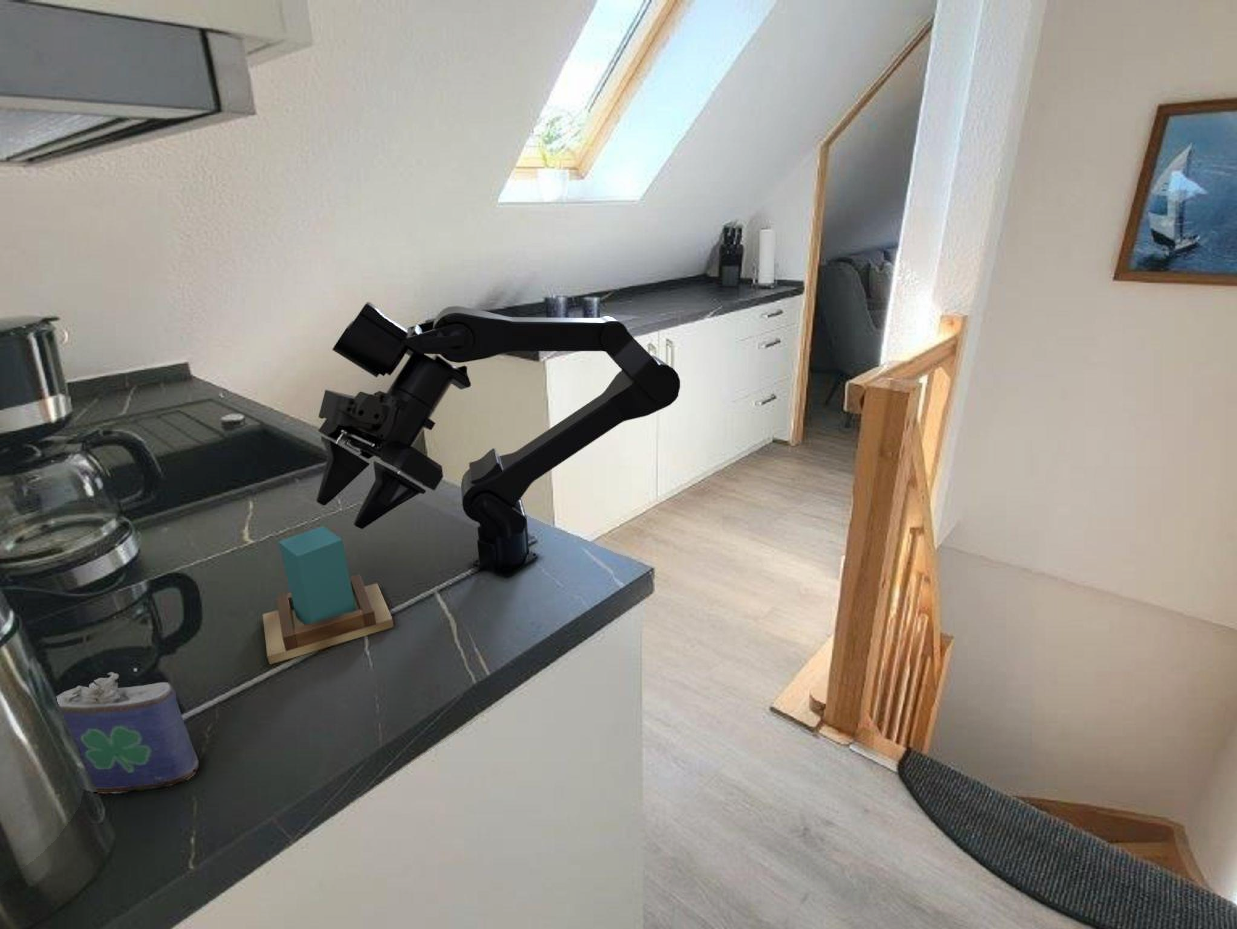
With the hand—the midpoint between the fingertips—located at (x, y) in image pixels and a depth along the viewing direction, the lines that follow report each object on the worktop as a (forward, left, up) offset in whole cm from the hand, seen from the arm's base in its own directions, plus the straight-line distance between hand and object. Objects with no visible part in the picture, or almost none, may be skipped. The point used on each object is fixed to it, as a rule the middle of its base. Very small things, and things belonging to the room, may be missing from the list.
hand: (338, 515), depth 74 cm
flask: (+26, +5, -13) cm, 29 cm away
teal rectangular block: (+3, -1, -12) cm, 12 cm away
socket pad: (+3, -1, -13) cm, 14 cm away
